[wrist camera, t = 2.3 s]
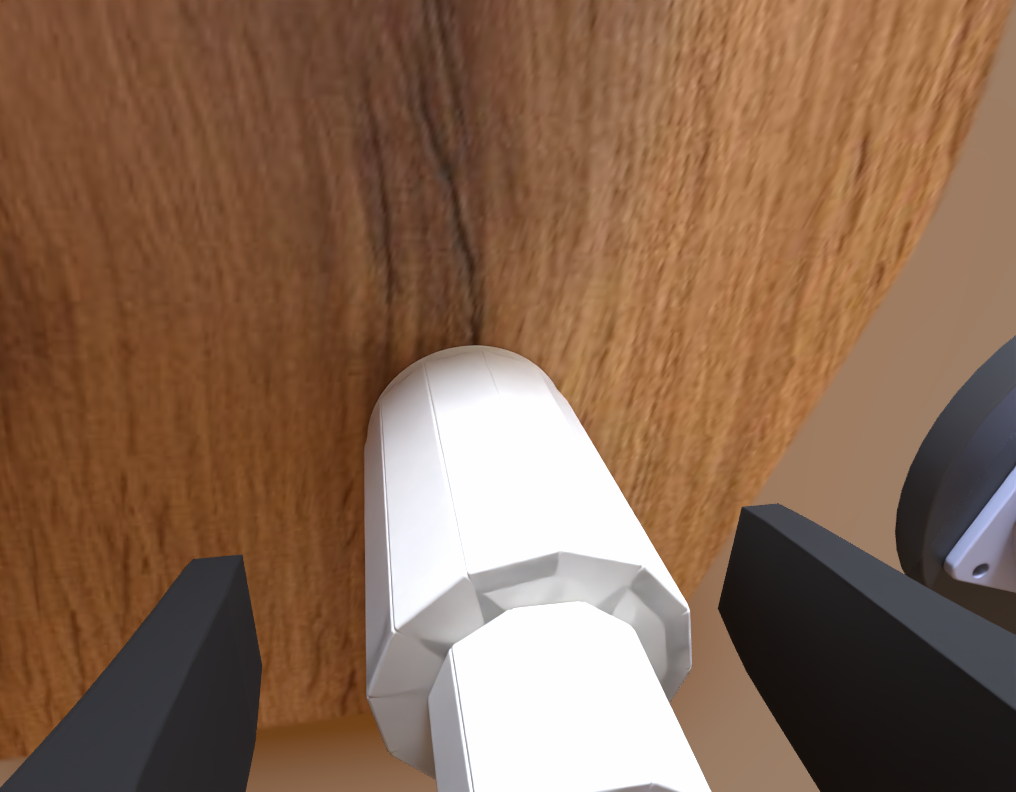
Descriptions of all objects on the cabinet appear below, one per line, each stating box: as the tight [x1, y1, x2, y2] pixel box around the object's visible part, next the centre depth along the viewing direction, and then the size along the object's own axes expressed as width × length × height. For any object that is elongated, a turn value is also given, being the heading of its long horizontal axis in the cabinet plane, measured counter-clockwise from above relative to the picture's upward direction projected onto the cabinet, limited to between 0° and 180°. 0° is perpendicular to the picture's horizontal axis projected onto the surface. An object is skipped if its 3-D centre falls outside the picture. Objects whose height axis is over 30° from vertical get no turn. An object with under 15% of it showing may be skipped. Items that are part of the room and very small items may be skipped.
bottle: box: [364, 345, 711, 792], centre depth 10 cm, size 4×4×8 cm
